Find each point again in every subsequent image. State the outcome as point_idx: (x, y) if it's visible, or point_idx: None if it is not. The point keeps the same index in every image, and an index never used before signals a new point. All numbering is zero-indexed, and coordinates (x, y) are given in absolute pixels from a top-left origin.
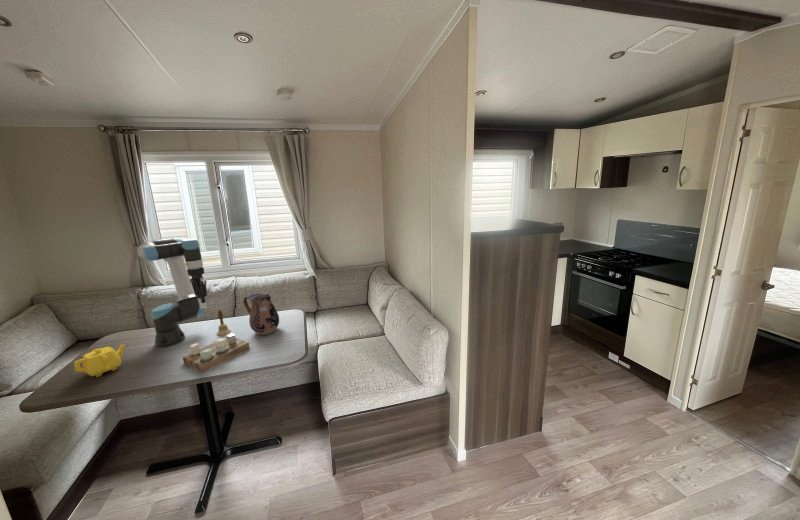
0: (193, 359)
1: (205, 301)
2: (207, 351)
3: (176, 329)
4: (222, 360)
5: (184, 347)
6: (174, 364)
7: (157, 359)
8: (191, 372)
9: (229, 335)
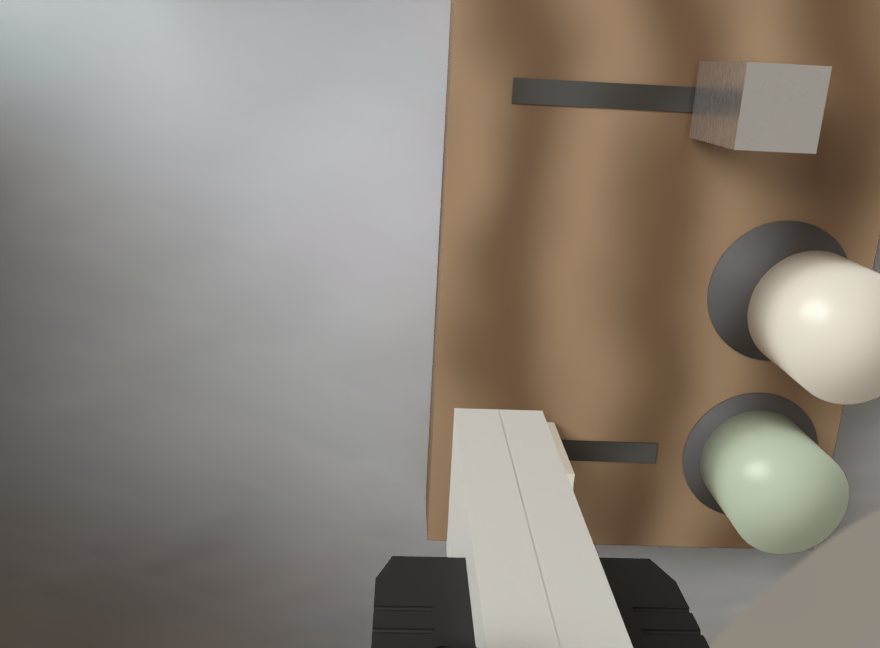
0: (610, 520)
1: (581, 526)
2: (819, 495)
3: None
4: None
5: (38, 319)
6: (356, 545)
7: (75, 569)
8: (667, 546)
9: (767, 126)
